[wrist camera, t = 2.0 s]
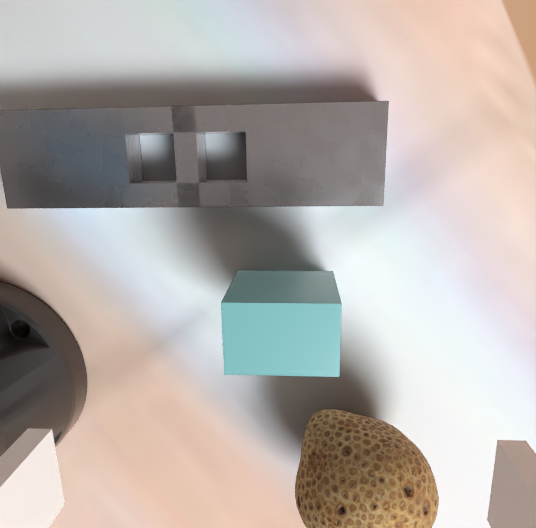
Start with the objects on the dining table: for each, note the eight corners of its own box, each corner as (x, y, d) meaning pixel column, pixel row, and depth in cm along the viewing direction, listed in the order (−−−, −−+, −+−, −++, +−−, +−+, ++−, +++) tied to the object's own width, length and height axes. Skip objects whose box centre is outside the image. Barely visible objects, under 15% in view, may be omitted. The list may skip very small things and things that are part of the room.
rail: (30, 203, 31) (7, 208, 28) (16, 113, 29) (-10, 110, 27) (376, 201, 29) (383, 205, 27) (380, 105, 27) (388, 100, 25)
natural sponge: (385, 498, 35) (418, 631, 25) (279, 465, 35) (271, 586, 25) (430, 403, 32) (485, 511, 23) (315, 367, 32) (322, 460, 23)
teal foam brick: (245, 312, 32) (224, 374, 23) (243, 259, 31) (221, 302, 22) (328, 313, 31) (339, 376, 22) (329, 259, 30) (341, 303, 21)
